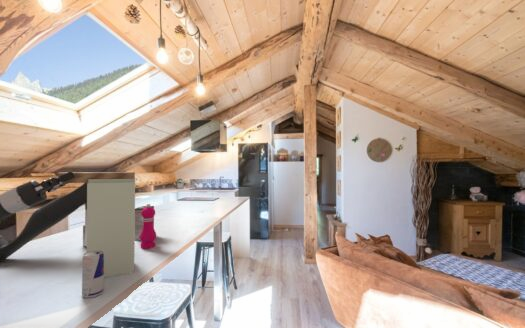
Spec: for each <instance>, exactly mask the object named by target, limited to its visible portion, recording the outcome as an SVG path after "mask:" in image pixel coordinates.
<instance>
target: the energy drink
mask: <svg viewBox="0 0 525 328" xmlns="http://www.w3.org/2000/svg"><path fill="white" fill-rule="evenodd" d="M81 266H82V267H81V273H82V274H81V275H82V276H81V278H82V279H81V296H82V297H83V298H85V299H92V298H96V297H98V296H100V295H102V294H103V292H104V289H105V288H104V282H105V281H104V278H105V277H104V254H103V251H91V252H87V251H86V252H84V253H83V255H82V263H81Z"/></svg>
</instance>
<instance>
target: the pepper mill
mask: <svg viewBox="0 0 525 328" xmlns="http://www.w3.org/2000/svg"><path fill="white" fill-rule="evenodd" d="M145 206H146V208H144V209H143V210H142V212H141V215H142V216H143V218H142V219H143V220H142V221H143V229H142V232H141V234H140V240H139V241H140V242H141V243H140V248H141V249H143V250H144V249H145V250H146V249H153V248H155V246H156V239H157V232H156V230H155V226H154V227H153V221H154V222H155V216H156V210H155V207H154V208H152V207H150V206H151V204H150V203H147V204H146V205H145ZM153 216H154V217H153Z"/></svg>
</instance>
